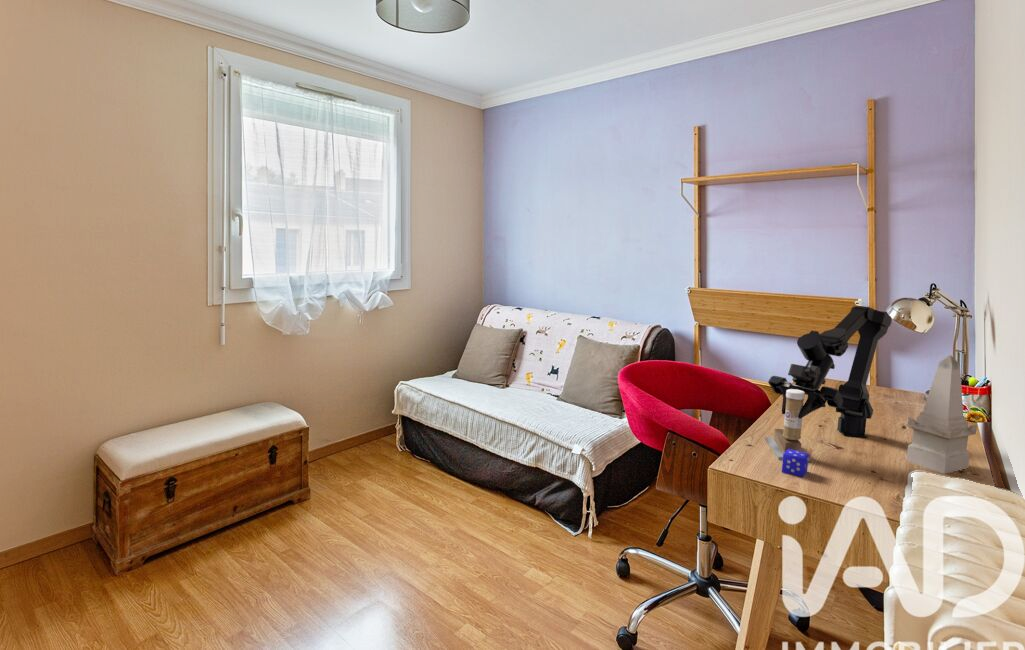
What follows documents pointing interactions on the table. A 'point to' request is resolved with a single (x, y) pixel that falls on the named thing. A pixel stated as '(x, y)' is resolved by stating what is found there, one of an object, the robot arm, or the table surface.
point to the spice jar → (793, 414)
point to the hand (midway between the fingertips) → (790, 415)
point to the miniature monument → (942, 424)
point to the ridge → (783, 444)
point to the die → (795, 462)
